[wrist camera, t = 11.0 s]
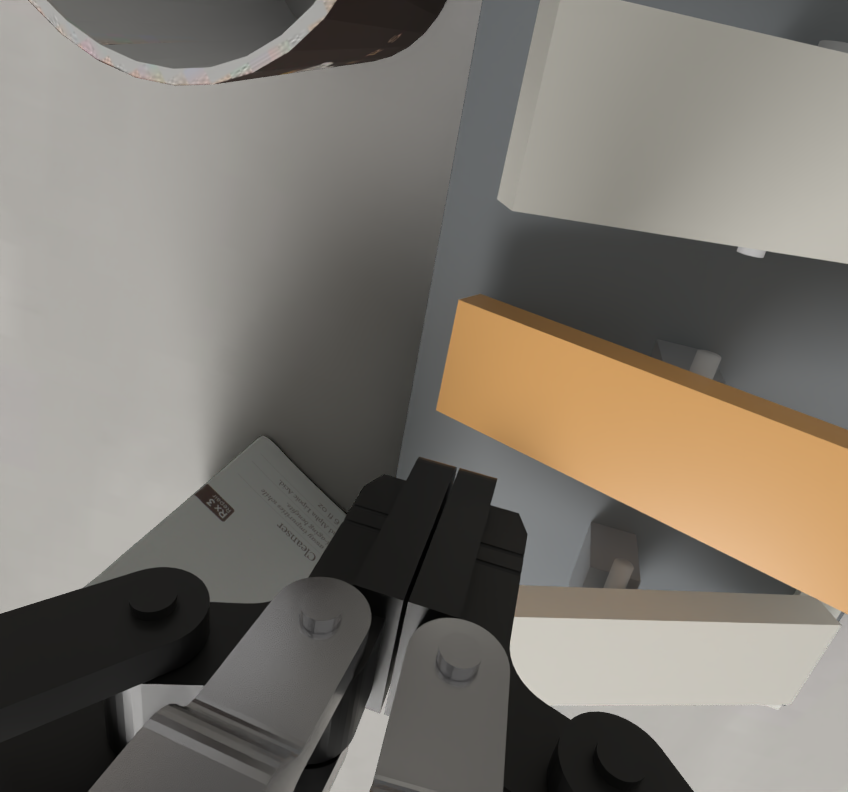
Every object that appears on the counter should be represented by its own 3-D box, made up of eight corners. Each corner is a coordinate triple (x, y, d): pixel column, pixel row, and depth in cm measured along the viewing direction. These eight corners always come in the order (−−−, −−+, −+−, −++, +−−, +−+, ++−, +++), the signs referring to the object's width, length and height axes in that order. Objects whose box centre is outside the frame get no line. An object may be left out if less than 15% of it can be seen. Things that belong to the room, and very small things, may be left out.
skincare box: (396, 551, 28) (218, 934, 15) (319, 612, 31) (111, 981, 18) (257, 424, 27) (-64, 710, 14) (190, 498, 30) (-131, 796, 17)
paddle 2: (480, 293, 19) (458, 299, 18) (1021, 494, 13) (1031, 519, 12) (457, 399, 20) (435, 410, 19) (927, 623, 14) (929, 654, 13)
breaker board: (509, -54, 18) (474, -124, 13) (1129, 41, 16) (1388, 3, 11) (395, 539, 28) (349, 634, 23) (768, 654, 25) (812, 791, 20)
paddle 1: (541, -6, 11) (562, -13, 10) (1097, 122, 14) (1161, 126, 13) (496, 199, 13) (511, 211, 12) (1003, 280, 15) (1053, 296, 14)
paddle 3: (413, 581, 17) (419, 614, 16) (814, 595, 20) (841, 625, 19) (394, 670, 19) (398, 706, 18) (768, 673, 21) (790, 704, 20)
